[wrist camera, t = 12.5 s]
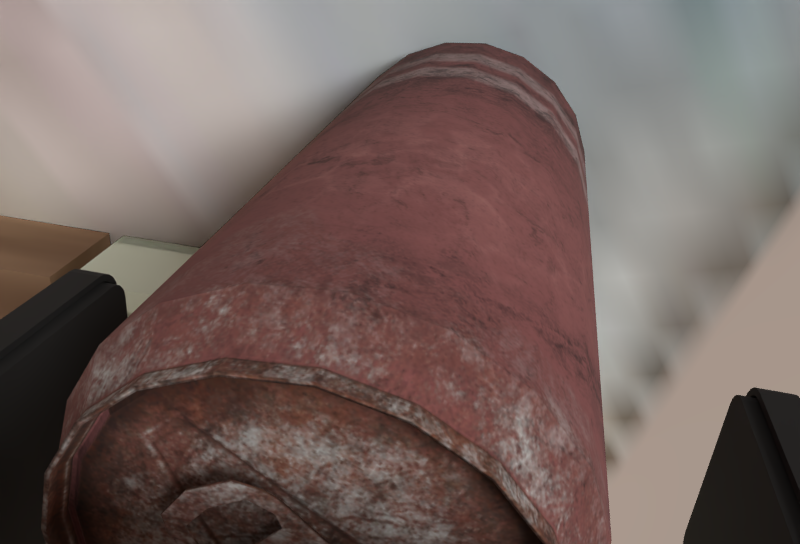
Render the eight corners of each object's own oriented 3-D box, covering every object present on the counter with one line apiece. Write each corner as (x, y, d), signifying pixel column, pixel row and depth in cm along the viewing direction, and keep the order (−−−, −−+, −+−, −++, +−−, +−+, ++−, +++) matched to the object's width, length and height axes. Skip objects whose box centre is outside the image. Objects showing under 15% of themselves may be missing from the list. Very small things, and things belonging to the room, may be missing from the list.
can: (536, 293, 21) (493, 869, 8) (330, 213, 21) (-6, 663, 9) (635, 94, 18) (791, 543, 5) (393, 2, 18) (12, 235, 6)
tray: (123, 235, 23) (65, 279, 20) (522, 300, 21) (516, 358, 18) (162, 545, 29) (122, 609, 27) (467, 614, 27) (456, 690, 25)
